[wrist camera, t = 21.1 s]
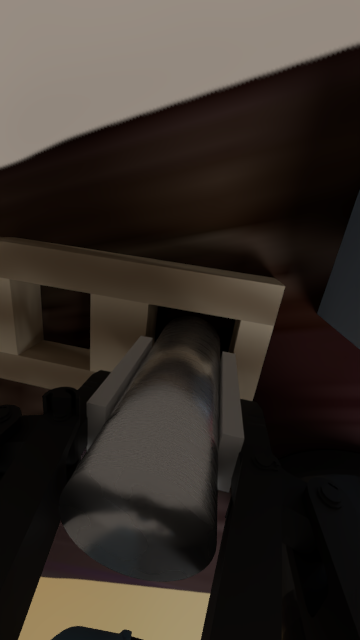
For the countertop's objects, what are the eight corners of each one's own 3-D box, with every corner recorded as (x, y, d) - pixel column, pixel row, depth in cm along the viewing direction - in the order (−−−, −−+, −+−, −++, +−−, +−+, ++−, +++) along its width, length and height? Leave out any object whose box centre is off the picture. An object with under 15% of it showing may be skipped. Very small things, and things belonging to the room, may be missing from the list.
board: (240, 406, 21) (243, 432, 18) (25, 360, 23) (-2, 377, 20) (274, 277, 17) (285, 286, 14) (13, 237, 19) (-22, 237, 16)
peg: (214, 376, 18) (201, 598, 7) (157, 365, 19) (61, 555, 8) (225, 322, 17) (232, 494, 6) (163, 310, 17) (55, 449, 6)
